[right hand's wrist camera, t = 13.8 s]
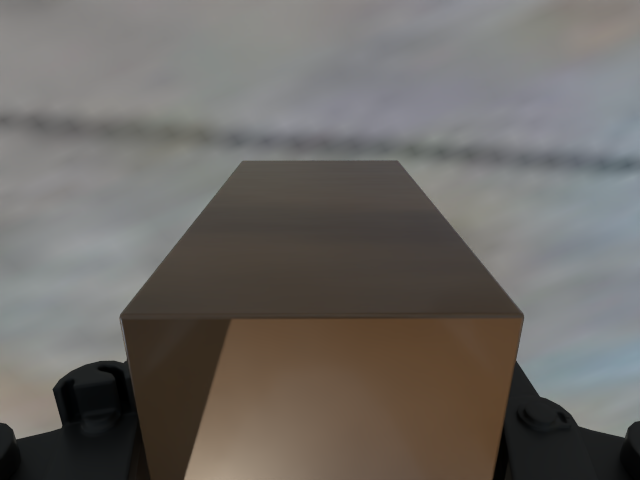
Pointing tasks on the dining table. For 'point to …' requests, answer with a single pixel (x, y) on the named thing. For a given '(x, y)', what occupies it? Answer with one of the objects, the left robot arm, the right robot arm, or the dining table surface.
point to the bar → (321, 335)
